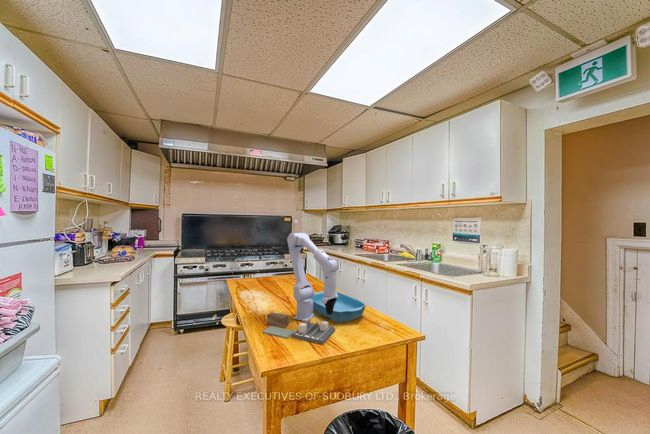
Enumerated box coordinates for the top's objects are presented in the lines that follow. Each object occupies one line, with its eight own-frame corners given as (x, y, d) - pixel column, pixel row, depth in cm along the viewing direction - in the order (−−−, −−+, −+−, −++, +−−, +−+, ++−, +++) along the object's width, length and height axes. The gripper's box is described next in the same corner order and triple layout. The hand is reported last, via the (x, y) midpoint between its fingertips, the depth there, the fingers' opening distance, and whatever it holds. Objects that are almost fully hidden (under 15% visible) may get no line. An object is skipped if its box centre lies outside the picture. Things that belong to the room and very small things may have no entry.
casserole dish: (301, 305, 155) (301, 293, 155) (332, 299, 167) (333, 288, 167) (338, 329, 124) (339, 314, 124) (373, 319, 137) (374, 305, 136)
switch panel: (306, 325, 128) (306, 319, 128) (335, 330, 122) (335, 325, 122) (291, 337, 115) (291, 331, 115) (322, 344, 109) (322, 338, 109)
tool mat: (270, 327, 125) (270, 325, 125) (294, 332, 120) (294, 331, 120) (262, 332, 119) (262, 331, 119) (287, 338, 114) (287, 337, 114)
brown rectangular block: (271, 321, 131) (271, 311, 131) (288, 325, 127) (288, 315, 127) (267, 324, 128) (267, 314, 128) (284, 328, 124) (284, 317, 124)
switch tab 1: (301, 330, 119) (301, 322, 119) (307, 331, 117) (307, 323, 117) (298, 332, 116) (298, 324, 116) (304, 333, 115) (304, 326, 115)
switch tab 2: (322, 328, 121) (322, 320, 121) (328, 329, 120) (328, 321, 120) (319, 330, 119) (319, 322, 119) (325, 331, 118) (326, 324, 118)
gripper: (332, 290, 117) (331, 321, 117) (343, 282, 130) (342, 310, 130) (317, 288, 120) (317, 318, 120) (329, 281, 133) (329, 308, 133)
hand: (329, 314), depth 125 cm, fingers closed
